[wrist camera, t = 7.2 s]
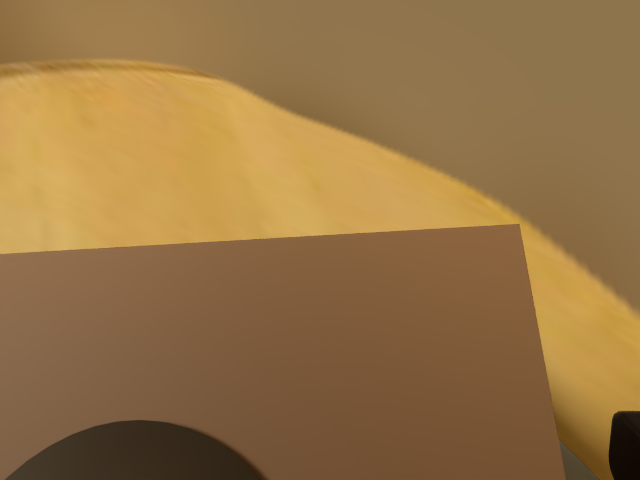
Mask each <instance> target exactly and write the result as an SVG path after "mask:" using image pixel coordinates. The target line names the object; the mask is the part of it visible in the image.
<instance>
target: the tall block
mask: <svg viewBox="0 0 640 480" xmlns="http://www.w3.org/2000/svg"><path fill="white" fill-rule="evenodd" d="M0 480H566V477H565V472H564V466H563V461H562V455H561V450H560V444H559V439H558V433H557V428H556V422H555V417H554V411H553V406H552V400H551V395H550V389H549V384H548V378H547V373H546V367H545V362H544V356H543V351H542V345H541V340H540V335H539V329H538V324H537V318H536V313H535V307H534V302H533V296H532V291H531V285H530V280H529V274H528V269H527V263H526V258H525V252H524V247H523V241H522V236H521V230H520V225H519V224H511V225H494V226H477V227H460V228H443V229H425V230H408V231H391V232H374V233H356V234H339V235H322V236H305V237H287V238H270V239H253V240H236V241H219V242H201V243H184V244H167V245H150V246H132V247H115V248H98V249H81V250H63V251H46V252H29V253H12V254H0Z"/></svg>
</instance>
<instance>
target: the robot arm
mask: <svg viewBox="0 0 640 480" xmlns="http://www.w3.org/2000/svg"><path fill="white" fill-rule="evenodd" d="M609 464H610V469H611V472H612V475H613V478H614V480H640V411H618V412H616V413H615V414H614V416H613V418H612V426H611V436H610V446H609Z"/></svg>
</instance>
